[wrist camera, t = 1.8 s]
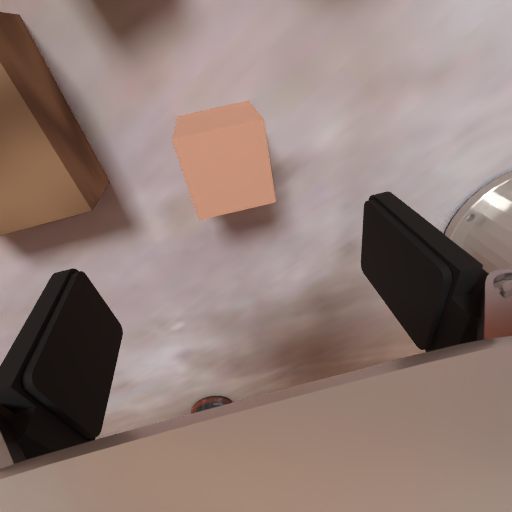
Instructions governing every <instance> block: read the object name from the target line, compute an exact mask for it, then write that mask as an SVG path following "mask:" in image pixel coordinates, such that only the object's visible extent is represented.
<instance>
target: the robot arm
mask: <svg viewBox="0 0 512 512" xmlns="http://www.w3.org/2000/svg"><path fill="white" fill-rule="evenodd" d="M361 268H362V271H363V273H364V274H365V276H366V277H367V278H368V280H369V281H370V283H371V284H372V285H373V287H374V288H375V289H376V291H377V292H378V294H379V295H380V296H381V298H382V299H383V300H384V302H385V303H386V305H387V306H388V307H389V309H390V310H391V311H392V313H393V314H394V316H395V317H396V318H397V320H398V321H399V322H400V324H401V325H402V326H403V328H404V329H405V331H406V332H407V333H408V335H409V336H410V337H411V339H412V340H413V342H414V343H415V344H416V346H417V347H418V348H419V349H421V350H424V349H425V350H426V353H421V354H417V355H413V356H409V357H405V358H401V359H397V360H393V361H389V362H385V363H382V364H378V365H374V366H370V367H366V368H362V369H359V370H355V371H351V372H347V373H343V374H339V375H336V376H332V377H328V378H324V379H320V380H316V381H313V382H309V383H305V384H301V385H297V386H294V387H290V388H286V389H282V390H279V391H275V392H271V393H267V394H264V395H260V396H256V397H252V398H248V399H245V400H241V401H237V402H233V403H230V404H226V405H222V406H219V407H215V408H211V409H207V410H204V411H200V412H196V413H192V414H189V415H185V416H181V417H178V418H174V419H170V420H167V421H163V422H159V423H156V424H152V425H148V426H144V427H141V428H137V429H133V430H130V431H126V432H122V433H119V434H115V435H111V436H108V437H104V438H100V439H97V440H95V437H97V436H98V435H99V434H100V432H101V429H102V425H103V420H104V416H105V411H106V407H107V402H108V398H109V394H110V389H111V385H112V380H113V376H114V371H115V367H116V362H117V358H118V353H119V349H120V344H121V340H122V335H123V331H122V327H121V324H120V323H119V321H118V320H117V319H116V317H115V316H114V314H113V313H112V311H111V310H110V308H109V307H108V306H107V304H106V303H105V301H104V300H103V298H102V297H101V296H100V294H99V293H98V291H97V290H96V288H95V287H94V286H93V284H92V283H91V281H90V280H89V278H88V277H87V275H86V274H85V273H84V272H82V271H80V272H79V271H78V270H76V269H69V270H65V271H61V272H57V273H54V274H53V275H52V276H51V278H50V280H49V282H48V283H47V285H46V287H45V289H44V291H43V292H42V294H41V296H40V298H39V299H38V301H37V303H36V305H35V306H34V308H33V310H32V312H31V313H30V315H29V317H28V319H27V320H26V322H25V324H24V326H23V327H22V329H21V331H20V333H19V334H18V336H17V338H16V340H15V341H14V343H13V345H12V347H11V348H10V350H9V352H8V354H7V355H6V357H5V359H4V361H3V363H2V364H1V366H0V512H512V172H509V173H506V174H505V175H503V176H501V177H499V178H497V179H495V180H493V181H492V182H490V183H489V184H487V185H486V186H484V187H483V188H481V189H480V190H479V191H478V192H476V193H475V194H474V195H473V196H472V197H471V198H469V200H468V201H467V202H466V203H465V204H464V205H463V206H462V207H461V208H460V209H459V211H458V212H457V213H456V215H455V216H454V217H453V219H452V220H451V222H450V224H449V226H448V228H447V230H446V232H445V235H444V234H443V233H442V232H441V231H439V230H438V229H437V228H435V227H434V226H433V225H432V224H430V223H429V222H428V221H427V220H425V219H424V218H423V217H421V216H420V215H419V214H418V213H416V212H415V211H414V210H413V209H411V208H410V207H409V206H407V205H406V204H405V203H404V202H402V201H401V200H400V199H399V198H397V197H396V196H395V195H393V194H392V193H391V192H384V193H380V194H376V195H371V196H370V198H369V201H366V202H365V204H364V216H363V235H362V253H361Z"/></svg>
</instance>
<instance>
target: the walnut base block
mask: <svg viewBox="0 0 512 512" xmlns="http://www.w3.org/2000/svg"><path fill="white" fill-rule="evenodd" d="M109 182H110V181H109V180H108V178H107V176H106V174H105V172H104V170H103V169H102V167H101V165H100V163H99V161H98V159H97V157H96V156H95V154H94V152H93V150H92V148H91V146H90V144H89V143H88V141H87V139H86V137H85V135H84V133H83V132H82V130H81V128H80V126H79V124H78V122H77V120H76V119H75V117H74V115H73V113H72V111H71V109H70V108H69V106H68V104H67V102H66V100H65V98H64V96H63V95H62V93H61V91H60V89H59V87H58V85H57V84H56V82H55V80H54V78H53V76H52V74H51V72H50V71H49V69H48V67H47V65H46V63H45V61H44V60H43V58H42V56H41V54H40V52H39V50H38V48H37V47H36V45H35V43H34V41H33V39H32V37H31V36H30V34H29V32H28V30H27V28H26V26H25V24H24V23H23V21H22V19H21V17H20V15H18V14H10V13H3V12H0V235H4V234H7V233H11V232H15V231H19V230H22V229H26V228H30V227H34V226H37V225H41V224H45V223H48V222H52V221H56V220H60V219H63V218H67V217H71V216H75V215H78V214H82V213H86V212H90V211H92V210H93V208H94V207H95V205H96V204H97V202H98V200H99V199H100V197H101V195H102V194H103V192H104V190H105V189H106V187H107V186H108V184H109Z"/></svg>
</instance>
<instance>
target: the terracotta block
mask: <svg viewBox="0 0 512 512" xmlns="http://www.w3.org/2000/svg"><path fill="white" fill-rule="evenodd" d="M172 141H173V144H174V147H175V150H176V153H177V156H178V159H179V162H180V165H181V168H182V171H183V174H184V177H185V180H186V183H187V186H188V189H189V192H190V195H191V198H192V201H193V204H194V207H195V210H196V213H197V216H198V219H199V220H202V219H206V218H211V217H215V216H219V215H224V214H228V213H232V212H237V211H241V210H245V209H249V208H254V207H258V206H262V205H267V204H271V203H275V202H276V199H275V192H274V185H273V178H272V172H271V165H270V158H269V151H268V145H267V138H266V131H265V124H264V119H263V118H262V116H261V115H260V114H259V113H258V111H257V110H256V109H255V108H254V107H253V105H252V104H251V103H250V102H249V101H244V102H240V103H235V104H231V105H226V106H222V107H217V108H213V109H209V110H204V111H200V112H195V113H191V114H186V115H182V116H178V118H177V122H176V126H175V130H174V134H173V138H172Z"/></svg>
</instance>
